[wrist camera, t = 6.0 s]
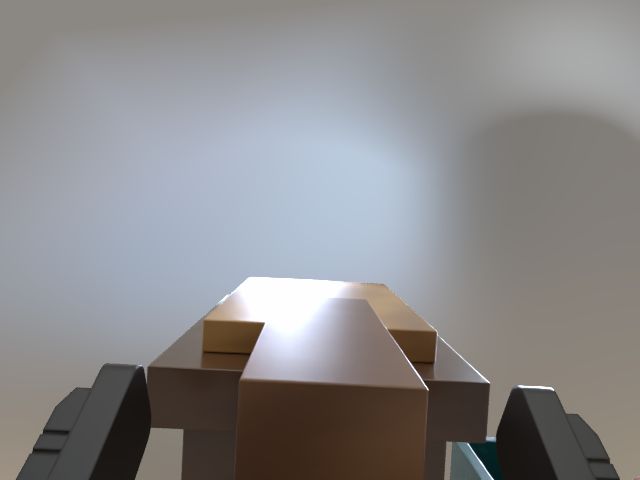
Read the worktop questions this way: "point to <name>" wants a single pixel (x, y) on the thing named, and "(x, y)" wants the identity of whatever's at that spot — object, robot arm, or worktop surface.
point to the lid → (325, 379)
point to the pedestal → (222, 404)
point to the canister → (475, 461)
